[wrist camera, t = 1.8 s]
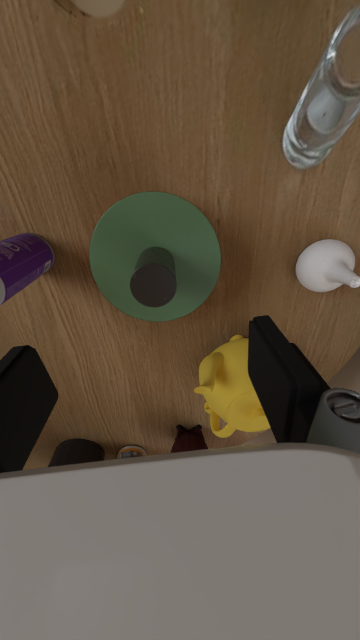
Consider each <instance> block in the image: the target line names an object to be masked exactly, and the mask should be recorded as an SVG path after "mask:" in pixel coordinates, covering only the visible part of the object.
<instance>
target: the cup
mask: <svg viewBox="0 0 360 640" xmlns="http://www.w3.org/2000/svg"><path fill="white" fill-rule="evenodd" d="M104 458H105V453H104V450H103V449H102V448H101V447H100V446H99V445H98V444H96V443H94V442H92V441H89V440H84V439H71V440H66V441H64V442H62V443H60V444H59V445H58V446H57V447H56V450H55V452H54V454H53V456H52V458H51V461H50V463H49V465H48V467H54V466H63V465H71V464H80V463H88V462H97V461H104Z"/></svg>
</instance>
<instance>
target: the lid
mask: <svg viewBox="0 0 360 640" xmlns="http://www.w3.org/2000/svg"><path fill="white" fill-rule="evenodd" d="M89 259H90V267H91V271H92V274H93V277H94V280H95V282H96V284H97V286H98V288H99V289H100V291H101V292H102V294H103V295H104V296H105V297H106V299H107V300H108V301H109V302H110V303H111V304H112V305H114V306H115V307H116V308H117V309H119V310H120V311H122V312H124V313H126V314H127V315H129V316H132V317H134V318H137V319H141V320H146V321H155V322H161V321H169V320H174V319H177V318H180V317H183V316H185V315H187V314H189V313H191V312H192V311H194V310H195V309H197V308H198V307H199V306H200V305H201V304H202V303H203V302H204V301H205V300H206V299H207V298H208V296H209V295H210V294H211V292H212V290H213V289H214V287H215V285H216V282H217V280H218V276H219V273H220V267H221V251H220V245H219V241H218V238H217V235H216V233H215V231H214V229H213V227H212V225H211V223H210V222H209V221H208V219H207V218H206V216H205V215H204V214H203V213H202V212H201V211H200V210H199V209H198V208H196V207H195V206H194V205H193V204H191V203H190V202H188V201H186V200H185V199H183V198H181V197H178V196H176V195H173V194H169V193H165V192H156V191H150V192H141V193H136V194H133V195H130V196H128V197H125V198H123V199H122V200H120V201H118V202H116V203H115V204H114V205H113V206H111V207H110V208H109V209H108V210H107V211H106V212H105V213H104V214H103V215H102V217H101V218H100V220H99V221H98V223H97V225H96V227H95V229H94V231H93V234H92V237H91V242H90V248H89Z"/></svg>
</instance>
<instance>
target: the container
mask: <svg viewBox="0 0 360 640" xmlns="http://www.w3.org/2000/svg"><path fill="white" fill-rule="evenodd" d="M54 261H55V255H54V251H53V249H52V247H51V246H50V244H49V243H48V242H47V241H46V240H45V239H44V238H42V237H41V236H39V235H36V234H33V233H24V234H20V235H17V236H14V237H11V238H8V239H5V240H2V241H0V305H1V304H3V303H4V302H5V301H7V300H8V299H10V298H11V297H12V296H14V295H15V294H16V293H18V292H19V291H21V290H22V289H23V288H25V287H26V286H27V285H29V284H30V283H32V282H33V281H34V280H36V279H37V278H38V277H40V276H41V275H42V274H44V273H45V272H47V271H48V270H49V269H50V268H51V267H52V266H53V264H54Z"/></svg>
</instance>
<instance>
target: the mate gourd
mask: <svg viewBox="0 0 360 640" xmlns="http://www.w3.org/2000/svg"><path fill="white" fill-rule="evenodd" d="M176 428H177V429H178V433H177V438H176V439H175V442H174V444H173V447H172V450H171V453H177V452H186V451H195V450H204V449H208V447H207V445H206V443H205V440H204V437H203V434H202V432H201V430H200V429H202V427H201V425H197V426H196V427H194V428H192V429H191V430H187V429H185V428H184V427H182V426H181V425H177V426H176Z"/></svg>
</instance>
